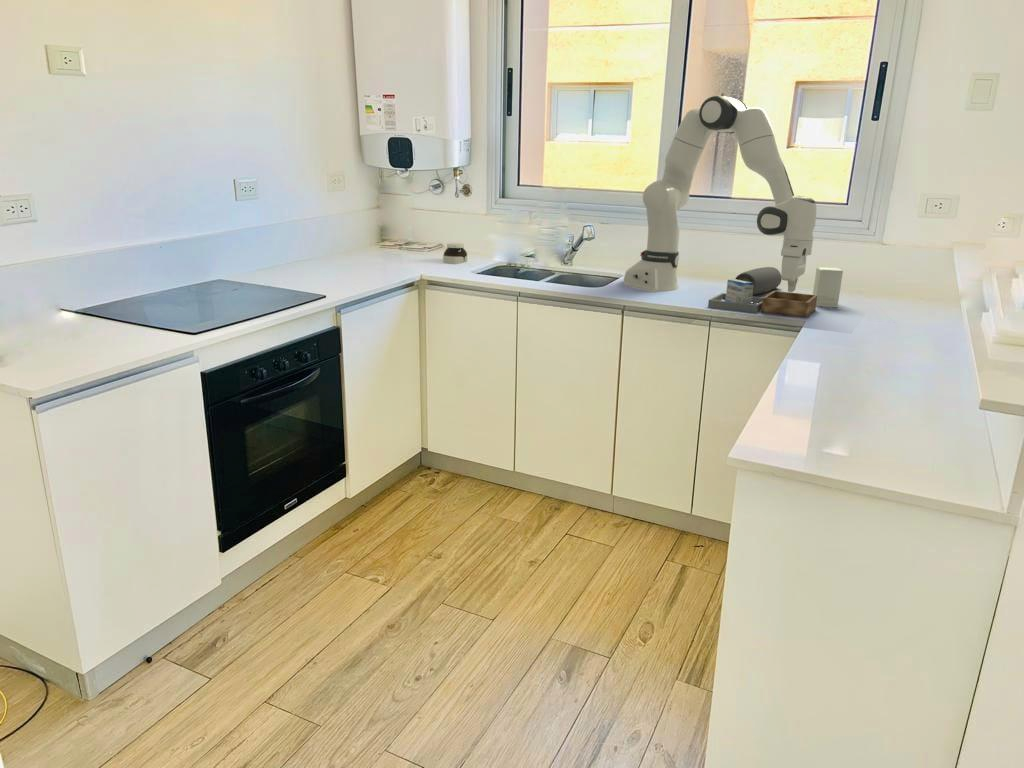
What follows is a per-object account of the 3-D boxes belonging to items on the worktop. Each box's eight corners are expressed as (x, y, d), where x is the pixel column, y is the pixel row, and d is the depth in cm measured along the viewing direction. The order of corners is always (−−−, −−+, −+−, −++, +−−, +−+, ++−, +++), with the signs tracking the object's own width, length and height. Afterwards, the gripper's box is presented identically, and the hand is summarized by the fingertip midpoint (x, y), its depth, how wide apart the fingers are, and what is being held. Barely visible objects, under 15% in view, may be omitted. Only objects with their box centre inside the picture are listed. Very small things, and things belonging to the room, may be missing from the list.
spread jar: (455, 274, 305) (455, 245, 301) (433, 271, 311) (433, 243, 307) (472, 271, 314) (473, 243, 311) (451, 268, 320) (451, 240, 317)
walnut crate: (761, 312, 243) (762, 297, 242) (772, 305, 256) (773, 290, 255) (806, 318, 236) (808, 302, 235) (815, 310, 250) (817, 295, 248)
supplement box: (837, 308, 254) (843, 270, 251) (814, 306, 256) (820, 269, 252) (833, 304, 261) (839, 267, 258) (811, 302, 263) (816, 266, 259)
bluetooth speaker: (757, 290, 285) (760, 264, 282) (781, 293, 279) (784, 267, 276) (730, 297, 268) (733, 269, 265) (755, 301, 262) (758, 273, 259)
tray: (707, 307, 250) (708, 299, 249) (721, 300, 263) (722, 293, 263) (756, 313, 242) (757, 305, 242) (768, 305, 256) (768, 298, 255)
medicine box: (724, 304, 255) (727, 279, 253) (733, 303, 257) (736, 278, 255) (741, 309, 249) (744, 283, 246) (751, 308, 251) (754, 282, 248)
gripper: (793, 244, 250) (787, 285, 255) (780, 250, 234) (774, 294, 238) (813, 246, 247) (807, 287, 251) (801, 252, 231) (795, 296, 235)
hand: (791, 291), depth 244 cm, fingers closed
